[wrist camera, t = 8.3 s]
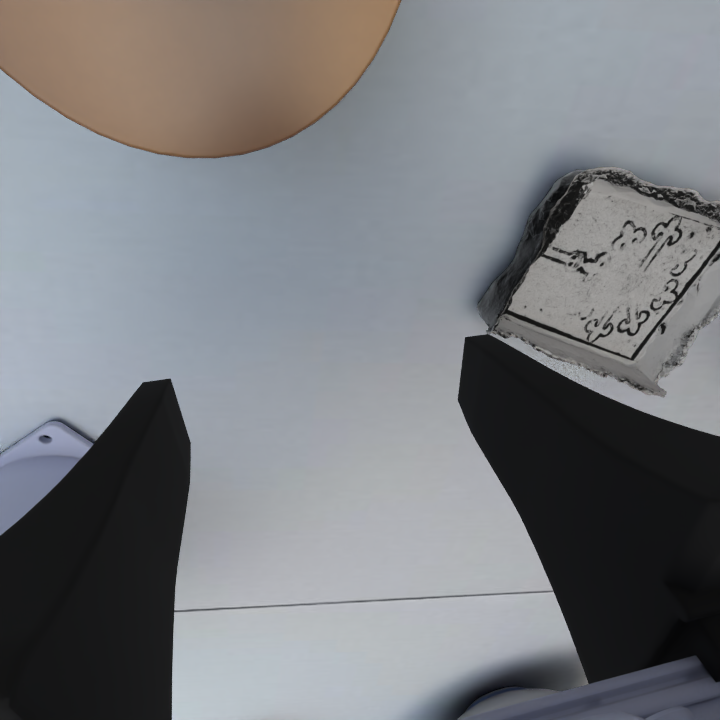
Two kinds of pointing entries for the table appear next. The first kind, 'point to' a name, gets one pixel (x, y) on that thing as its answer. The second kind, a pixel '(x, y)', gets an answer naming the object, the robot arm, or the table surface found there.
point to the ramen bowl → (504, 699)
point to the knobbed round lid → (192, 66)
